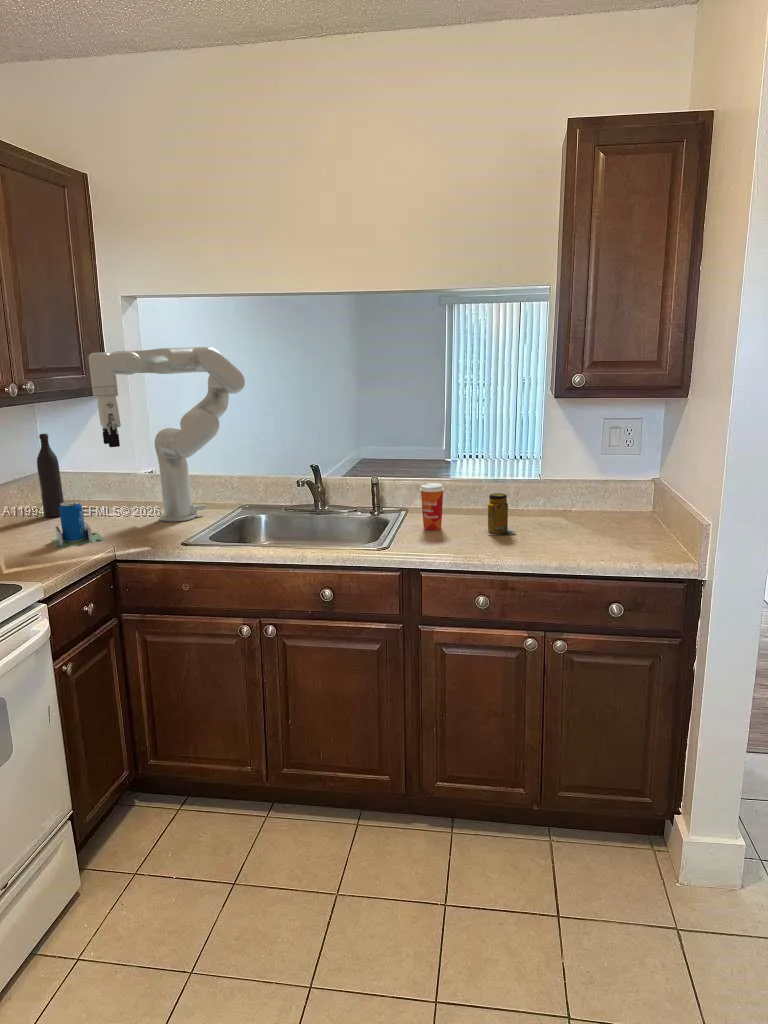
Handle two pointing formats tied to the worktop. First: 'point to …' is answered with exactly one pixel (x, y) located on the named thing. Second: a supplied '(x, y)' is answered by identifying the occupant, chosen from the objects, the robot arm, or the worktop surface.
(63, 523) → the beverage can
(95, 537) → the deck plate
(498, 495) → the condiment
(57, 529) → the bracket
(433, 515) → the paper cup
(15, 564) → the worktop surface
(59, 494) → the wine bottle
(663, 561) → the worktop surface
